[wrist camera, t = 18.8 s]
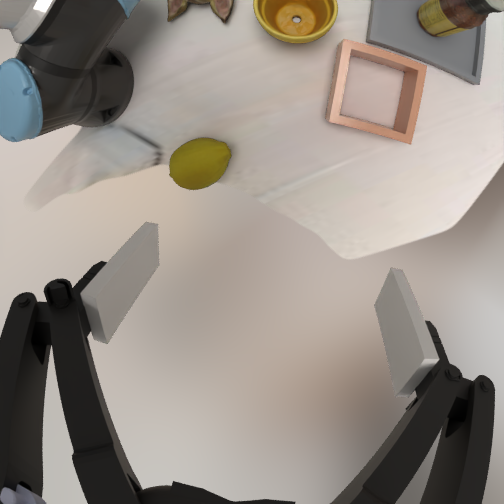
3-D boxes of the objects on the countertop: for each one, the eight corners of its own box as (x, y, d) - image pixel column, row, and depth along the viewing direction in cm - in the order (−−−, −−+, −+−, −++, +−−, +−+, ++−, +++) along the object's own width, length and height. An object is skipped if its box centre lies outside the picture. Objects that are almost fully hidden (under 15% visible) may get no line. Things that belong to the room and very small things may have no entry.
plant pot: (294, -18, 32) (293, -41, 23) (343, 24, 34) (355, 9, 26) (247, 21, 36) (235, 5, 28) (296, 63, 39) (296, 55, 31)
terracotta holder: (325, 118, 43) (329, 121, 38) (337, 45, 36) (343, 38, 31) (398, 137, 42) (410, 144, 37) (412, 67, 36) (426, 65, 31)
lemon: (184, 186, 52) (167, 203, 45) (171, 145, 48) (150, 155, 41) (243, 172, 49) (234, 187, 42) (231, 127, 46) (219, 134, 39)
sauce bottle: (449, 14, 28) (519, -8, 11) (446, 44, 31) (519, 33, 14) (414, -3, 28) (473, -39, 11) (410, 28, 32) (473, 2, 15)
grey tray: (365, 41, 35) (369, 39, 33) (375, -37, 27) (378, -42, 25) (472, 84, 34) (479, 84, 32) (479, 9, 26) (486, 7, 24)
